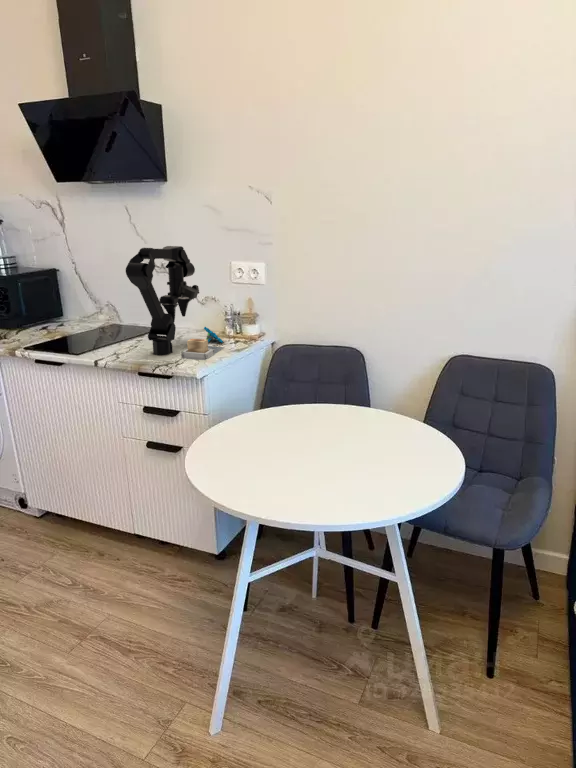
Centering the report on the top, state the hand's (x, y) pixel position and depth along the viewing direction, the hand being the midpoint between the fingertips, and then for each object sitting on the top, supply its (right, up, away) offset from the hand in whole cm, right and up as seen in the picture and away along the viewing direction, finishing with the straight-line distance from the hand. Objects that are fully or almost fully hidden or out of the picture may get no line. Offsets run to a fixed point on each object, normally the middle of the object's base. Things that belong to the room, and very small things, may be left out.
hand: (178, 318), depth 220 cm
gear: (+12, -9, +11) cm, 19 cm away
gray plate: (+11, -15, -7) cm, 20 cm away
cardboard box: (+10, -15, -12) cm, 22 cm away
